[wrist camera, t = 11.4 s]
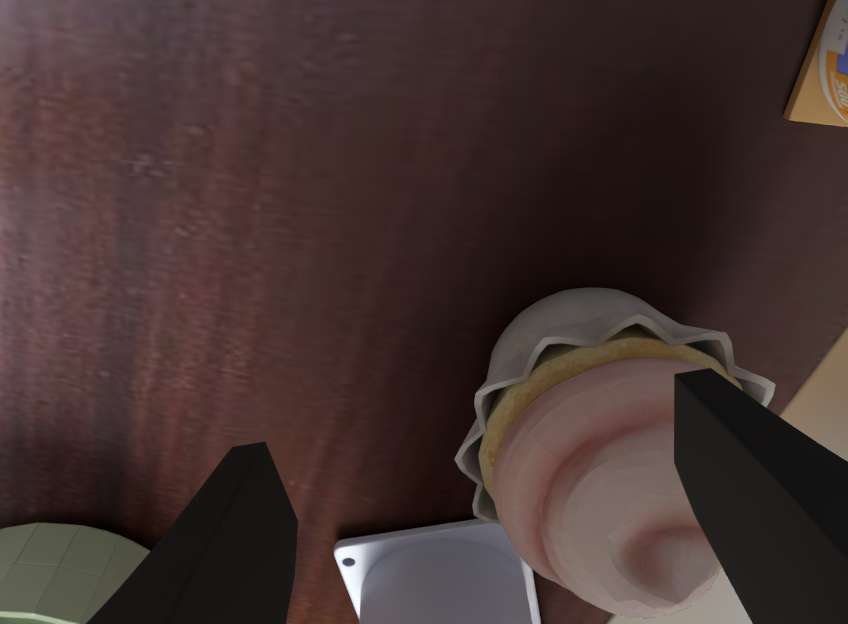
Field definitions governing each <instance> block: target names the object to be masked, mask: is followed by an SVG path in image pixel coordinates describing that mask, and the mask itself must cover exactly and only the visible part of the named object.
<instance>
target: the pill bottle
mask: <svg viewBox="0 0 848 624" xmlns="http://www.w3.org/2000/svg"><path fill="white" fill-rule="evenodd" d="M818 67H819V76H820V81H821V85H822V88H823V91H824V94H825V96H826V98H827V100H828V102H829V103H830V105H831V106H832V108H833V109H834V110H835V111H836V113H837V114H838V115H839V116H840V117H841V118H842V119H844V120H845V121H846V122H848V0H837V1H836V2H835V4H834V6H833V8H832V10H831V12H830V14H829V17H828V19H827V22H826V25H825V27H824V30H823V33H822V37H821V42H820V47H819V59H818Z"/></svg>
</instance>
